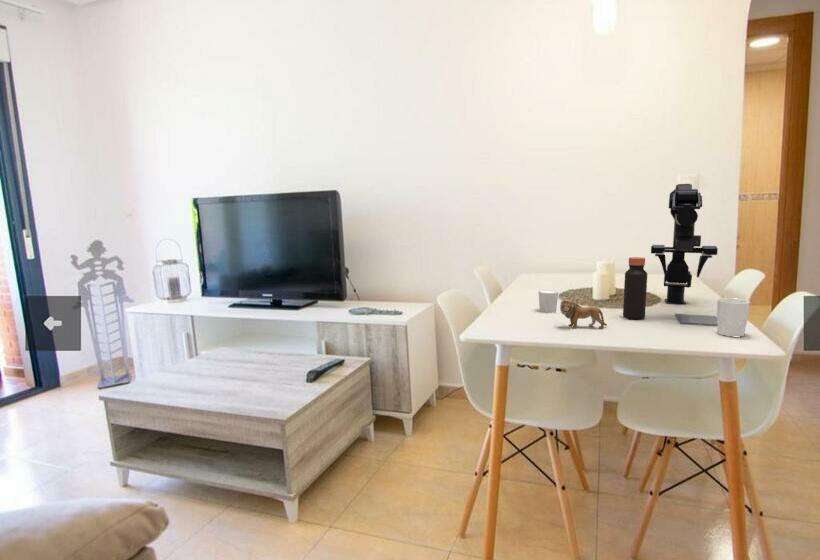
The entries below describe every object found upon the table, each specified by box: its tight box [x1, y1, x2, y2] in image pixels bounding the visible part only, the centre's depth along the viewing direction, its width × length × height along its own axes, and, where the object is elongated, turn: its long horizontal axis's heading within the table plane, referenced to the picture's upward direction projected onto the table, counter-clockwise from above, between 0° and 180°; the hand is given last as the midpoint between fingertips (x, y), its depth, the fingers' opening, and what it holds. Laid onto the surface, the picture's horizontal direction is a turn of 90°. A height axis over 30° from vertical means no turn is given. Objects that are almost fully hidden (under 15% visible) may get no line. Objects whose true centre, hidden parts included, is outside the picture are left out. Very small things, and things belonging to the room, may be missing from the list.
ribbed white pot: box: [537, 289, 559, 314], centre depth 181 cm, size 7×7×7 cm
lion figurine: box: [559, 299, 608, 330], centre depth 157 cm, size 15×5×9 cm, turn 90°
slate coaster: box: [674, 313, 718, 327], centre depth 163 cm, size 12×12×1 cm
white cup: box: [716, 297, 751, 337], centre depth 146 cm, size 8×8×10 cm
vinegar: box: [622, 256, 648, 321], centre depth 167 cm, size 7×7×20 cm
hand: (681, 276), depth 164 cm, fingers open, 9 cm apart
